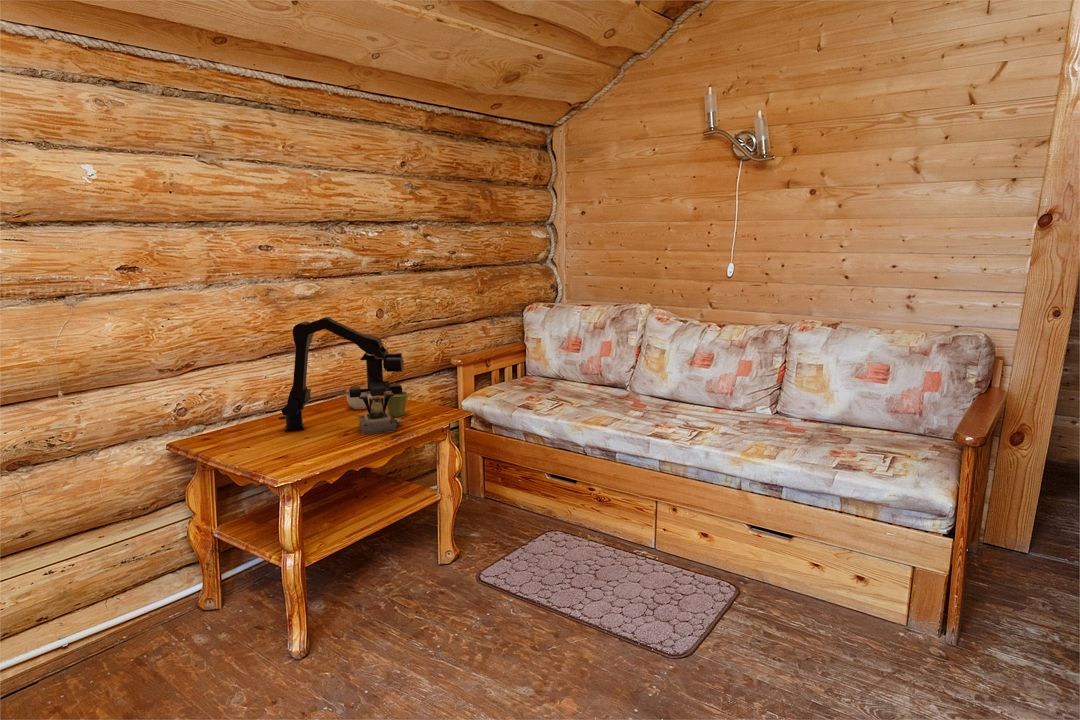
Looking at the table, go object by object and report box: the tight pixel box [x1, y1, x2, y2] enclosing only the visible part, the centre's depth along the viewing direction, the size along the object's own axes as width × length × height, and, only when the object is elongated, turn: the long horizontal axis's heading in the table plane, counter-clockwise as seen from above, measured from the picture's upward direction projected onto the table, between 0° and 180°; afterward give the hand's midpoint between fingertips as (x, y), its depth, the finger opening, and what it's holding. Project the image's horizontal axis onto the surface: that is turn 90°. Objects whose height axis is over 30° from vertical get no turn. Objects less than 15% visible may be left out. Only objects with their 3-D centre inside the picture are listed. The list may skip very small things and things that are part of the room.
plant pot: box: [387, 390, 409, 418], centre depth 254 cm, size 9×9×9 cm
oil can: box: [369, 395, 384, 419], centre depth 236 cm, size 7×5×8 cm
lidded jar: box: [345, 384, 373, 410], centre depth 265 cm, size 11×11×9 cm
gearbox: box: [358, 411, 403, 436], centre depth 238 cm, size 14×15×4 cm
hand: (376, 413), depth 237 cm, fingers closed on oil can, 5 cm apart
